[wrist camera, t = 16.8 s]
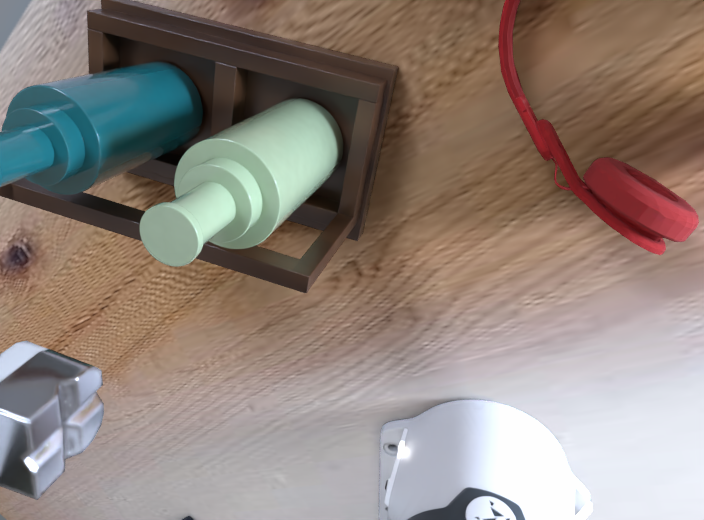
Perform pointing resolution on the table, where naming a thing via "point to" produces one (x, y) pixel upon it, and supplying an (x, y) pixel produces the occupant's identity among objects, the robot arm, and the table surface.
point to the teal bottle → (97, 126)
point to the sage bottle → (244, 181)
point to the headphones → (601, 171)
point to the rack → (233, 107)
